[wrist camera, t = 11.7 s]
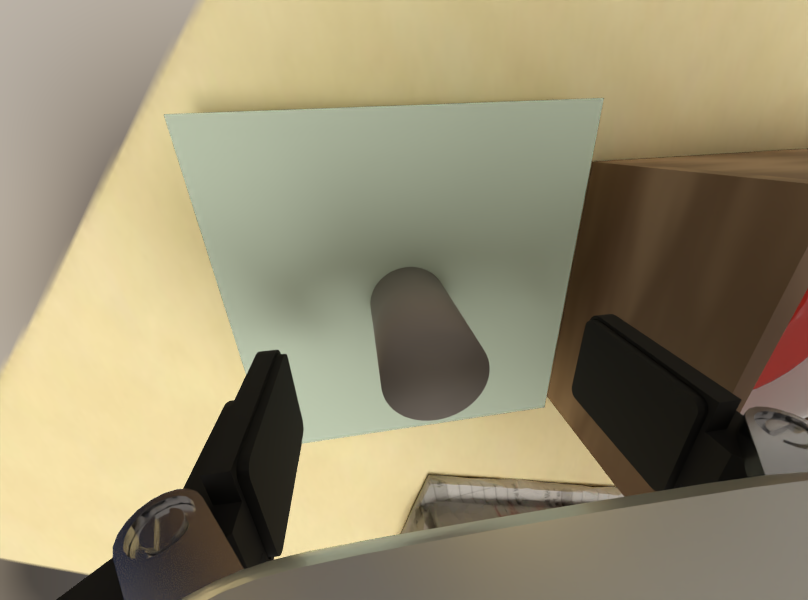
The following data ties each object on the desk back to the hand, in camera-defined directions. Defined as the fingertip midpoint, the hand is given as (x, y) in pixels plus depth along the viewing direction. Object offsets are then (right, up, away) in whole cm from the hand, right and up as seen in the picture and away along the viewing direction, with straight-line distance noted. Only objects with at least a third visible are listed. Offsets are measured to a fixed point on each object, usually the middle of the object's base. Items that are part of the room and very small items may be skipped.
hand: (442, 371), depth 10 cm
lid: (-1, +3, +5) cm, 6 cm away
